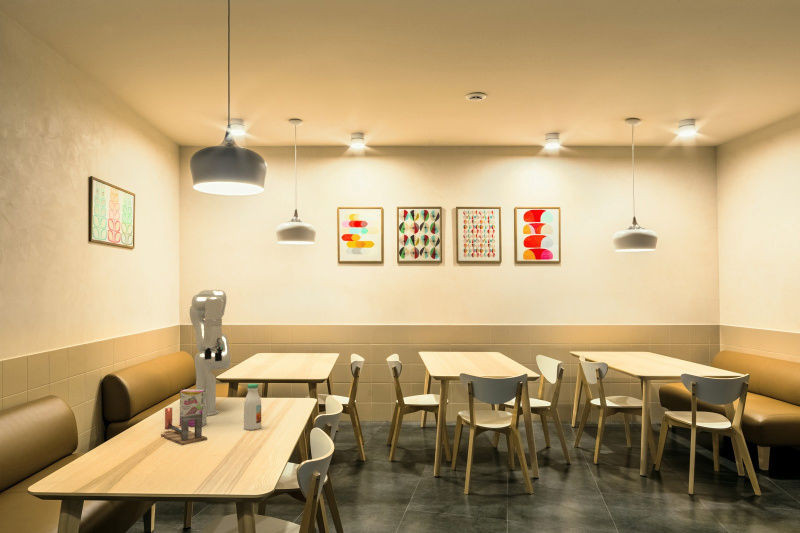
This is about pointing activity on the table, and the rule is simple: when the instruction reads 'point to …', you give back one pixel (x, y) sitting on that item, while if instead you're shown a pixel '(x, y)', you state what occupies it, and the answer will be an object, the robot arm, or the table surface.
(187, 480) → the table surface
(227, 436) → the table surface
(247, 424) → the milk bottle
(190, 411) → the candy bar box
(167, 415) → the lever
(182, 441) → the eye stand
